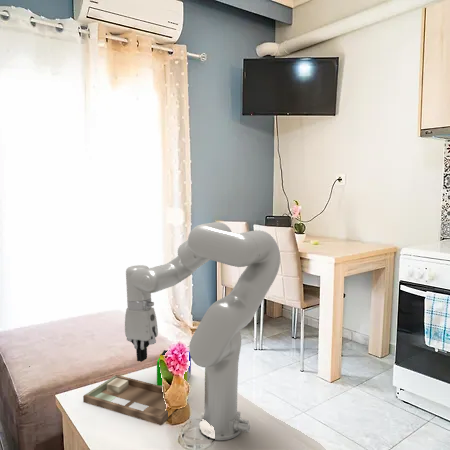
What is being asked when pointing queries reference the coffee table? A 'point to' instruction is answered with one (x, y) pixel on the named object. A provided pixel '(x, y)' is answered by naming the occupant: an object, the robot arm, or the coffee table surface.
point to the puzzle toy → (159, 379)
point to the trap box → (132, 400)
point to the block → (117, 385)
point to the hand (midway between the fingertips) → (142, 359)
